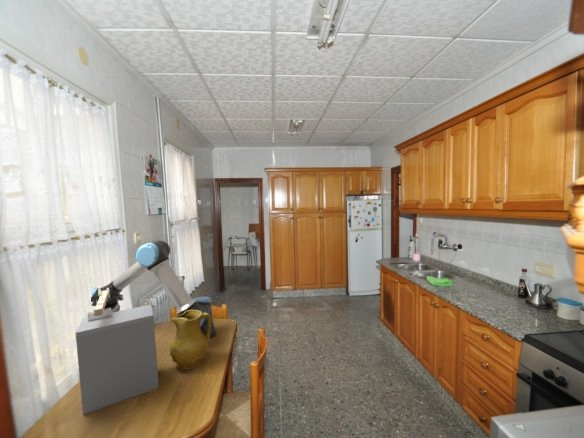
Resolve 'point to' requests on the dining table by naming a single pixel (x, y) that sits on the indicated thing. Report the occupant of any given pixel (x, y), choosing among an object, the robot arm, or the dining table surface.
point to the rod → (101, 304)
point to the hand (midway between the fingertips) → (103, 291)
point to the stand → (116, 357)
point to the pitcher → (190, 339)
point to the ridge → (105, 314)
